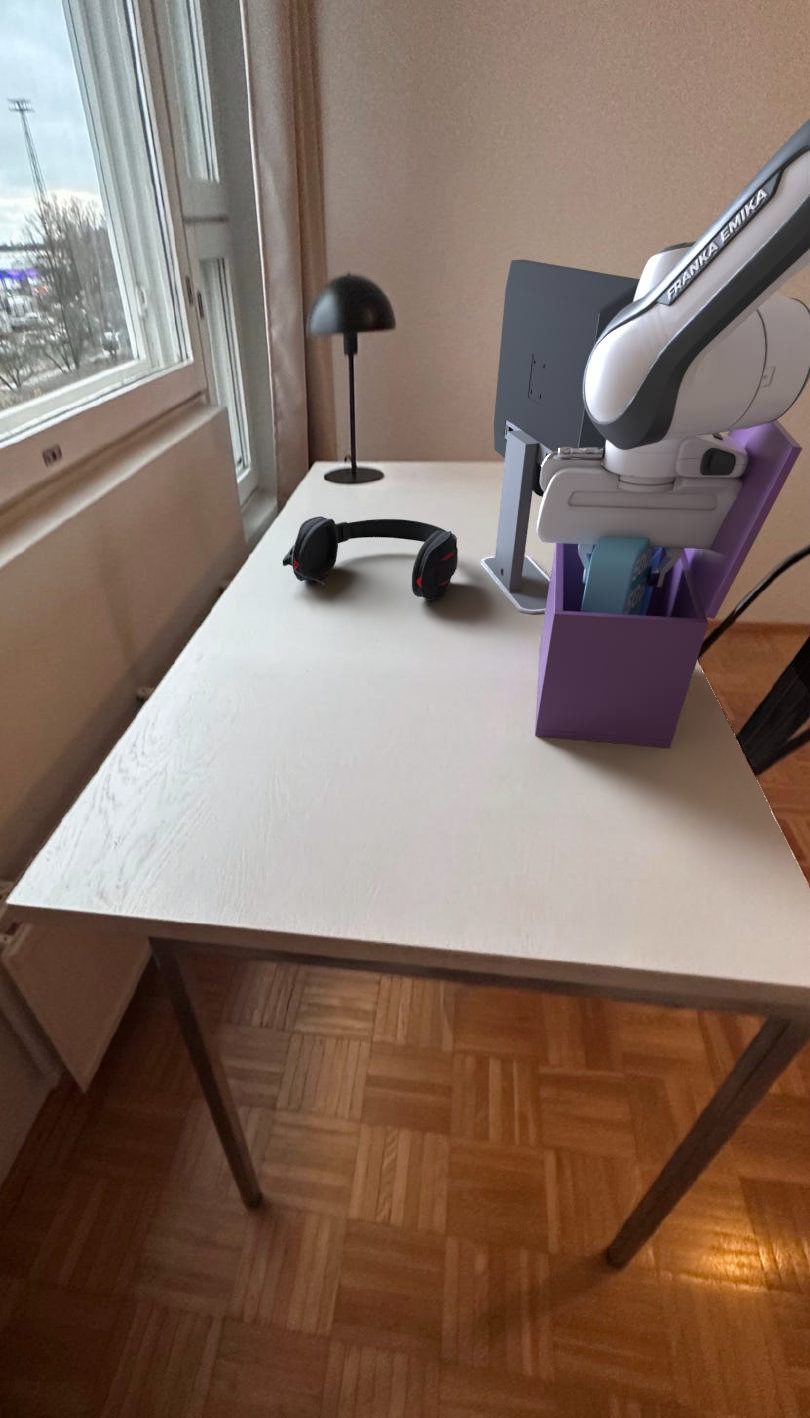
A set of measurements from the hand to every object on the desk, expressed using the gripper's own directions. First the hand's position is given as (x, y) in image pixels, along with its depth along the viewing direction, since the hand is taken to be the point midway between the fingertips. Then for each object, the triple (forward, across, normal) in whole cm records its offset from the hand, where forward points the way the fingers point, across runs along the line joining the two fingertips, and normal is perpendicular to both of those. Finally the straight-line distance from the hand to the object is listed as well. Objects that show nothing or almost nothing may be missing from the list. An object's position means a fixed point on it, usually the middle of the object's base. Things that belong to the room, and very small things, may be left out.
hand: (621, 583), depth 82 cm
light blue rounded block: (+6, 0, 0) cm, 6 cm away
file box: (+14, 0, 0) cm, 14 cm away
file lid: (-9, +8, 0) cm, 12 cm away
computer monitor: (+14, -10, +34) cm, 38 cm away
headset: (+14, -35, +30) cm, 48 cm away
